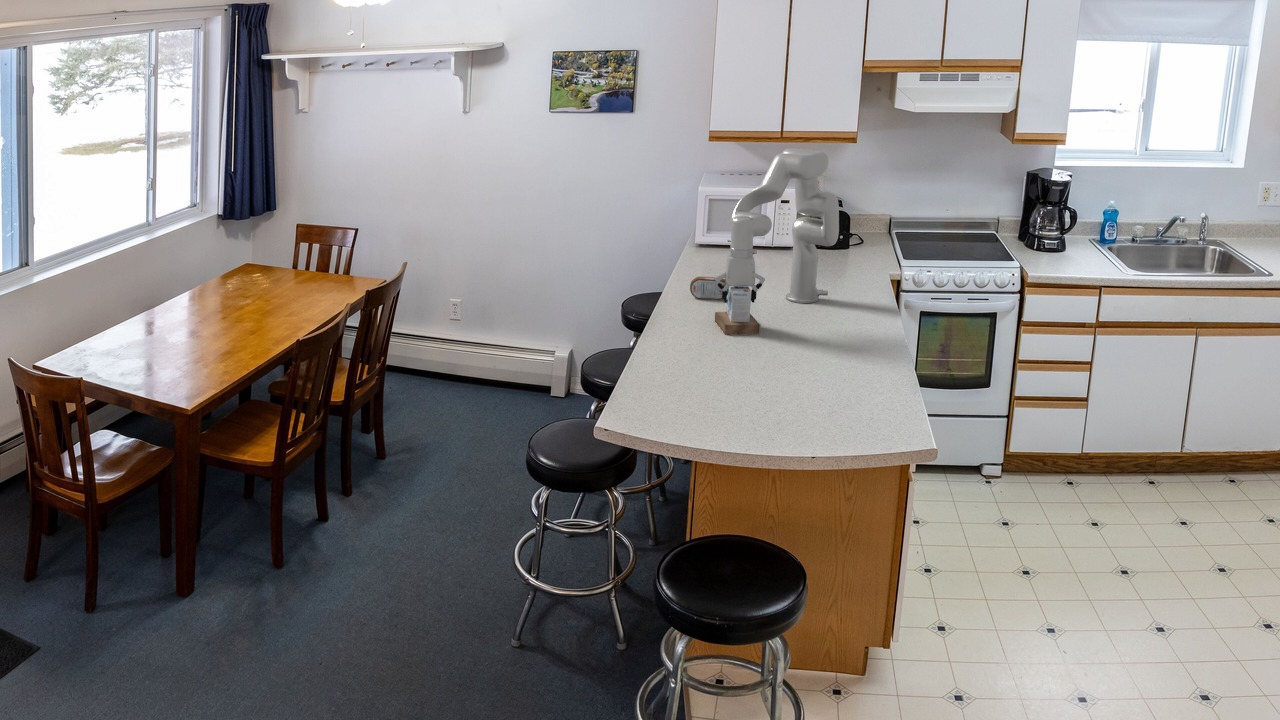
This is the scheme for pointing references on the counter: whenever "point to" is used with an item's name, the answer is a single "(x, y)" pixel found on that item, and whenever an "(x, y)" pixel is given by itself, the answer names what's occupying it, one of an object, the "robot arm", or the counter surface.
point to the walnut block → (736, 325)
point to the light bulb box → (739, 303)
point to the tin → (706, 288)
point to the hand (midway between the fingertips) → (738, 301)
